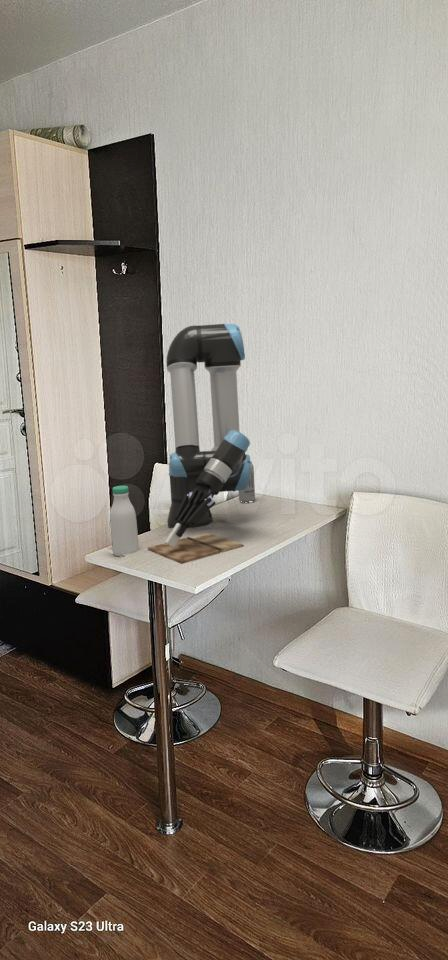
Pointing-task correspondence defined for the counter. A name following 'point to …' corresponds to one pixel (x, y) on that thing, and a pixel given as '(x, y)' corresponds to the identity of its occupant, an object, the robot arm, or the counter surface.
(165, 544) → the board
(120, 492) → the milk bottle
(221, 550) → the laid floorboards
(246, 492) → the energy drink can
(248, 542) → the counter surface
